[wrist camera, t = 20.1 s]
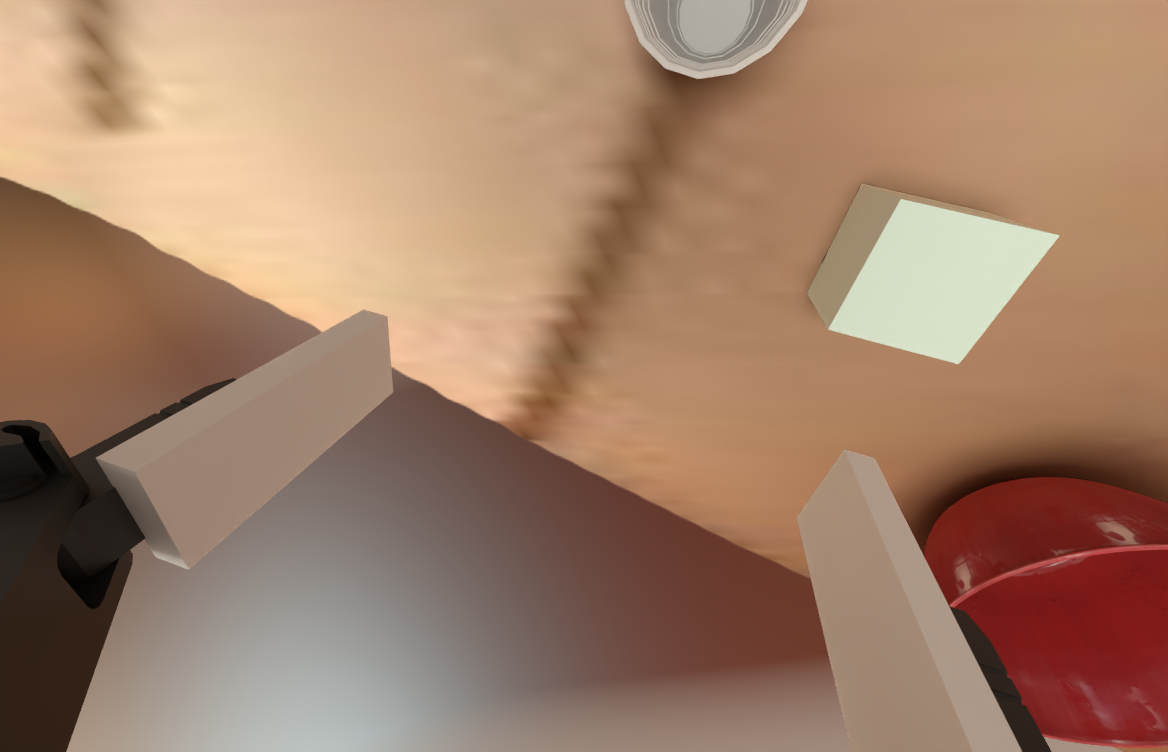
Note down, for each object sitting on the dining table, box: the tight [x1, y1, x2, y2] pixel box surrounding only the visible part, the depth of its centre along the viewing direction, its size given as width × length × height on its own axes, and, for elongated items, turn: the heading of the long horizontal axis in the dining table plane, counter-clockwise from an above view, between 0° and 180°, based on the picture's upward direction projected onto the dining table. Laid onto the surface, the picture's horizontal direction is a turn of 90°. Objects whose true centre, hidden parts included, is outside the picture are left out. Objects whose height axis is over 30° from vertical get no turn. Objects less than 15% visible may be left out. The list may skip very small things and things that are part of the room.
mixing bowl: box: [924, 477, 1168, 748], centre depth 43 cm, size 28×28×16 cm
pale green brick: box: [807, 184, 1060, 364], centre depth 35 cm, size 10×10×9 cm
